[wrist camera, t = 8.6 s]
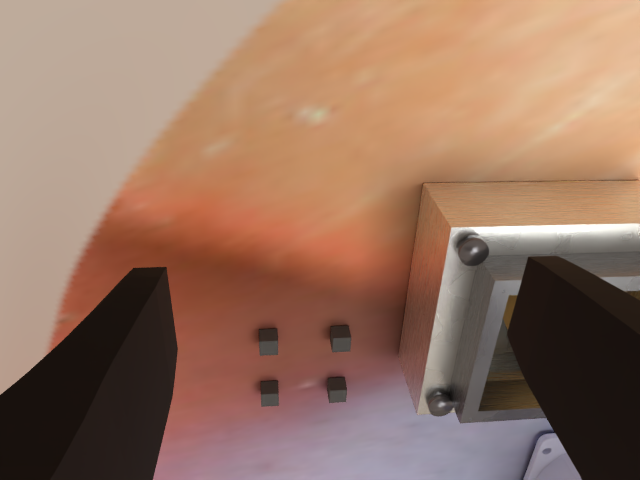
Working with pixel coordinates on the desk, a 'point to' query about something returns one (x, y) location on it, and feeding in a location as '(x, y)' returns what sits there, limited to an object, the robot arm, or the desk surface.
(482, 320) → the silver open square box
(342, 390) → the cradle
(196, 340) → the desk surface
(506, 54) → the desk surface
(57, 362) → the robot arm
